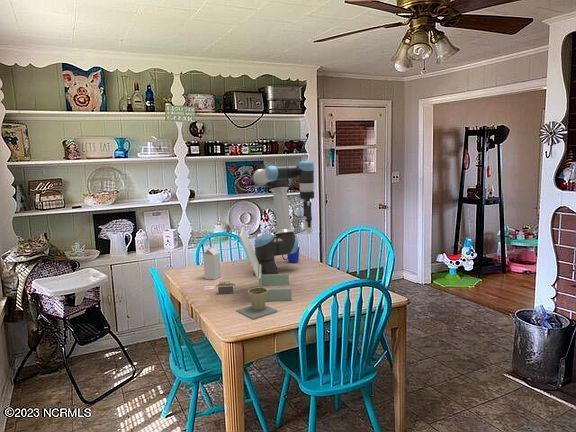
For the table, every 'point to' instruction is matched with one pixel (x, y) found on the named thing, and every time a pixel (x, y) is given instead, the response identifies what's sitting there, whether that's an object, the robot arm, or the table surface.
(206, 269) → the milk carton
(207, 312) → the table surface
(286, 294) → the cold frame
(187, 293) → the table surface
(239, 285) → the table surface
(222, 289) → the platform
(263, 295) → the flower pot
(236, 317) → the table surface
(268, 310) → the mat
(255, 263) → the frame lid
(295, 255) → the mug
